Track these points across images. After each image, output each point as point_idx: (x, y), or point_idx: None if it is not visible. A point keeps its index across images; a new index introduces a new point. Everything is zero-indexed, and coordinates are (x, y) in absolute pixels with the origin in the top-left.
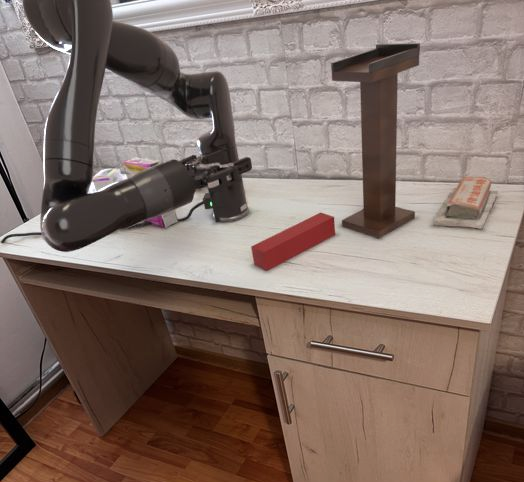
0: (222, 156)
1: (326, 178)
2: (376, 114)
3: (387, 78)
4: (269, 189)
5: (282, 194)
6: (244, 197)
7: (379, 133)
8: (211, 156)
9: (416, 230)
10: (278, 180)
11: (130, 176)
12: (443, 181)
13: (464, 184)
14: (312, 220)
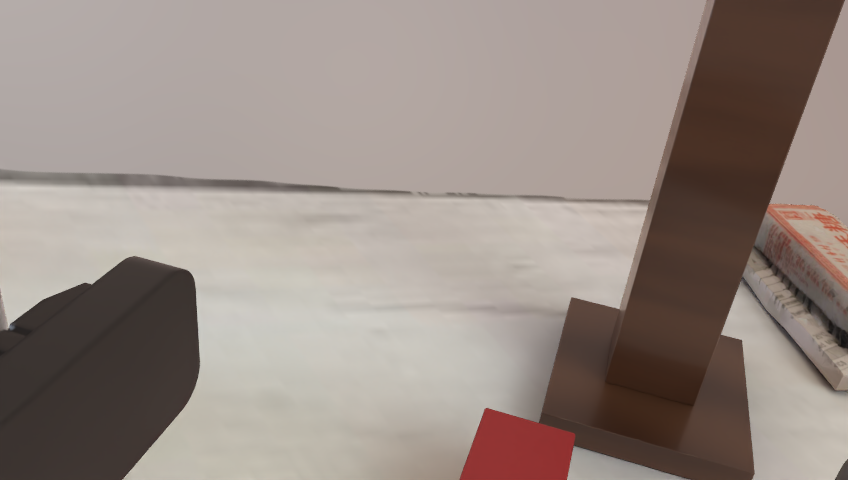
0: (177, 338)
1: (272, 185)
2: (820, 2)
3: None
4: (67, 236)
5: None
6: (5, 327)
7: (807, 85)
8: (41, 413)
9: (808, 422)
10: (85, 192)
11: None
12: (635, 200)
13: (805, 233)
14: (502, 477)
